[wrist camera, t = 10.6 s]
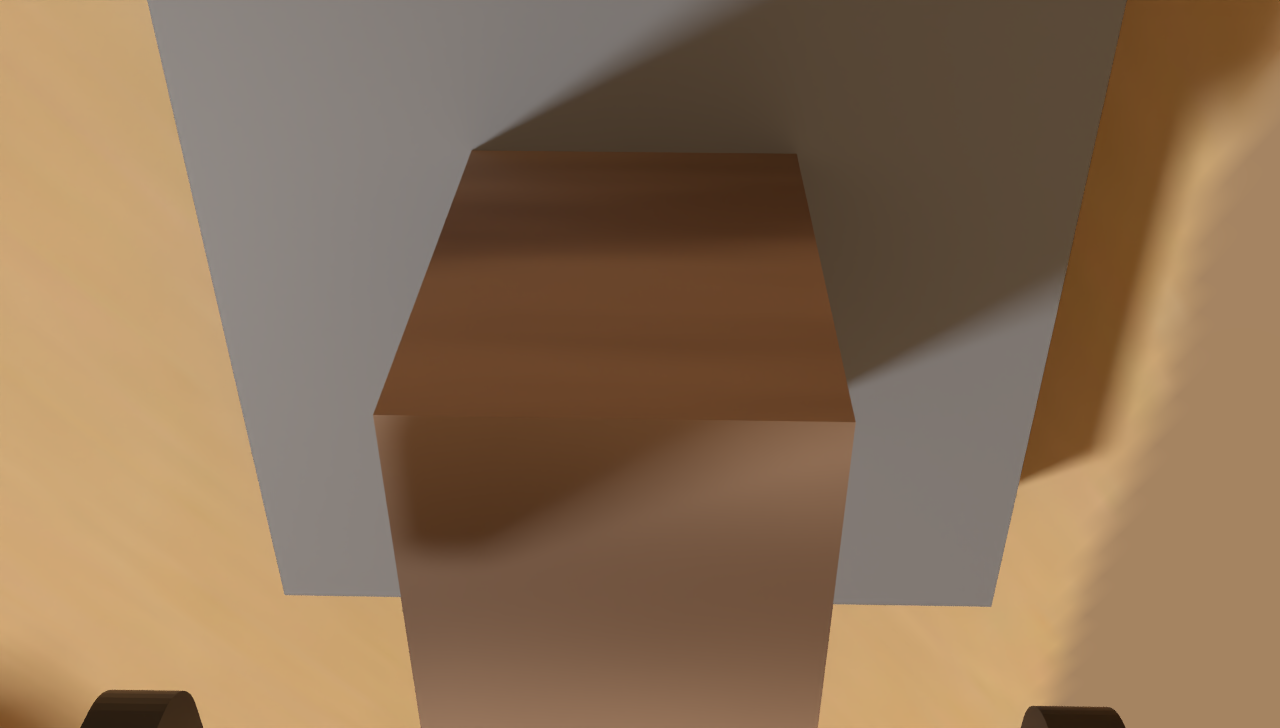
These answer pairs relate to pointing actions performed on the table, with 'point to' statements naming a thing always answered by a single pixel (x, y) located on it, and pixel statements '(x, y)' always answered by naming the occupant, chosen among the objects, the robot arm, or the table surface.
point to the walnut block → (619, 447)
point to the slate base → (650, 122)
